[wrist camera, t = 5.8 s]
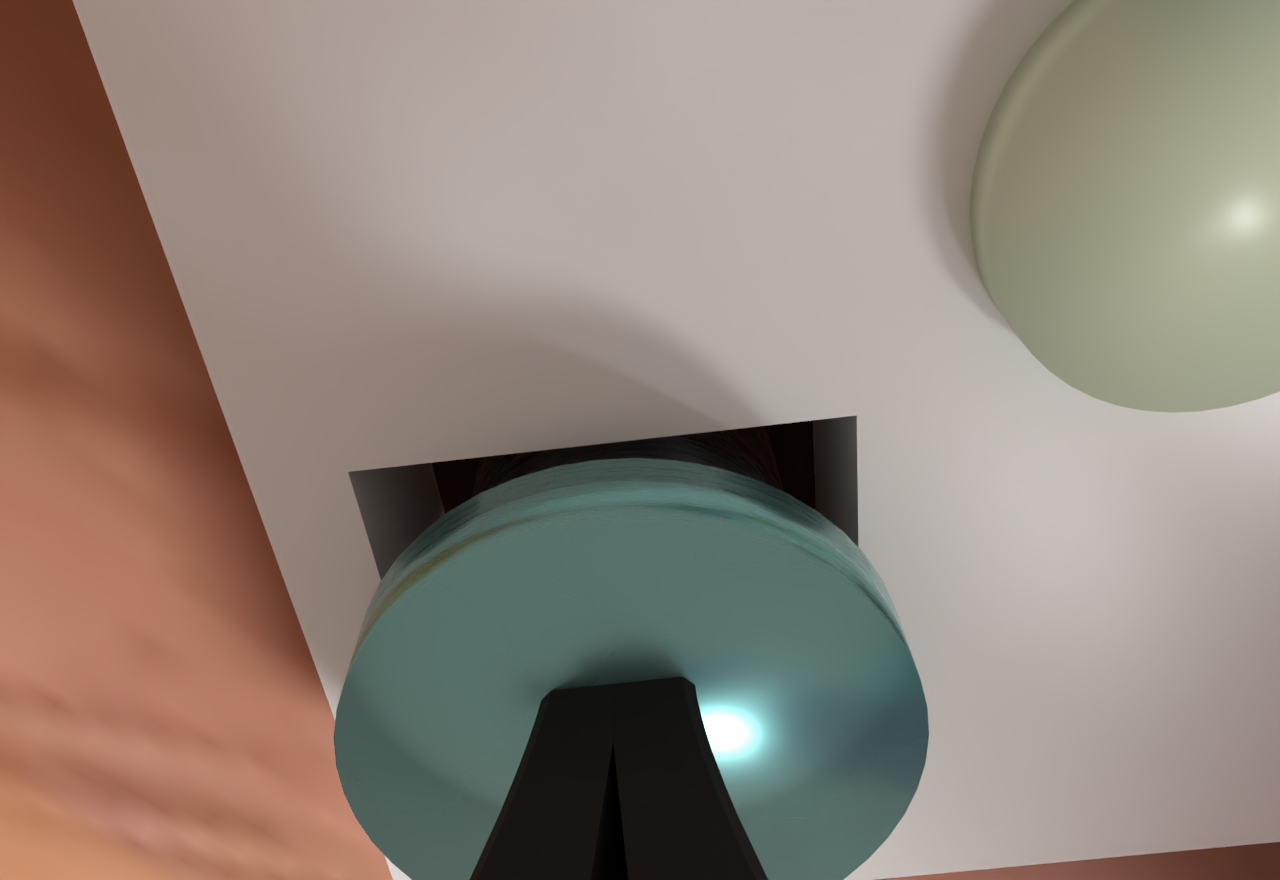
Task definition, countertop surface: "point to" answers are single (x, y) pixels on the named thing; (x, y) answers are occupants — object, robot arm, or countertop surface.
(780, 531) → the disc
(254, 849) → the countertop surface
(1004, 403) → the instrument base
